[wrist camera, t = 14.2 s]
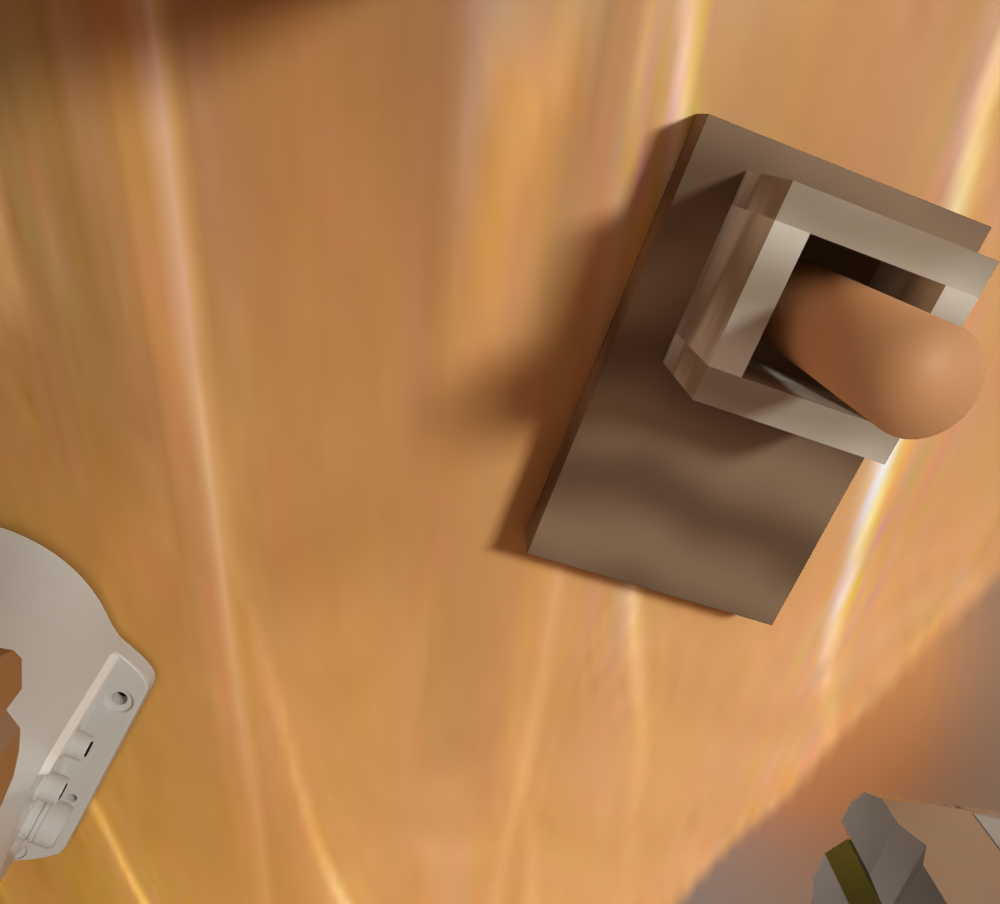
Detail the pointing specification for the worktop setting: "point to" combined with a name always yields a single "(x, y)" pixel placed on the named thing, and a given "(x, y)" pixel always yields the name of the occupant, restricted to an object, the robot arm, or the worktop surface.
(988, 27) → the worktop surface
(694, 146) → the well board
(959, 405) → the peg
